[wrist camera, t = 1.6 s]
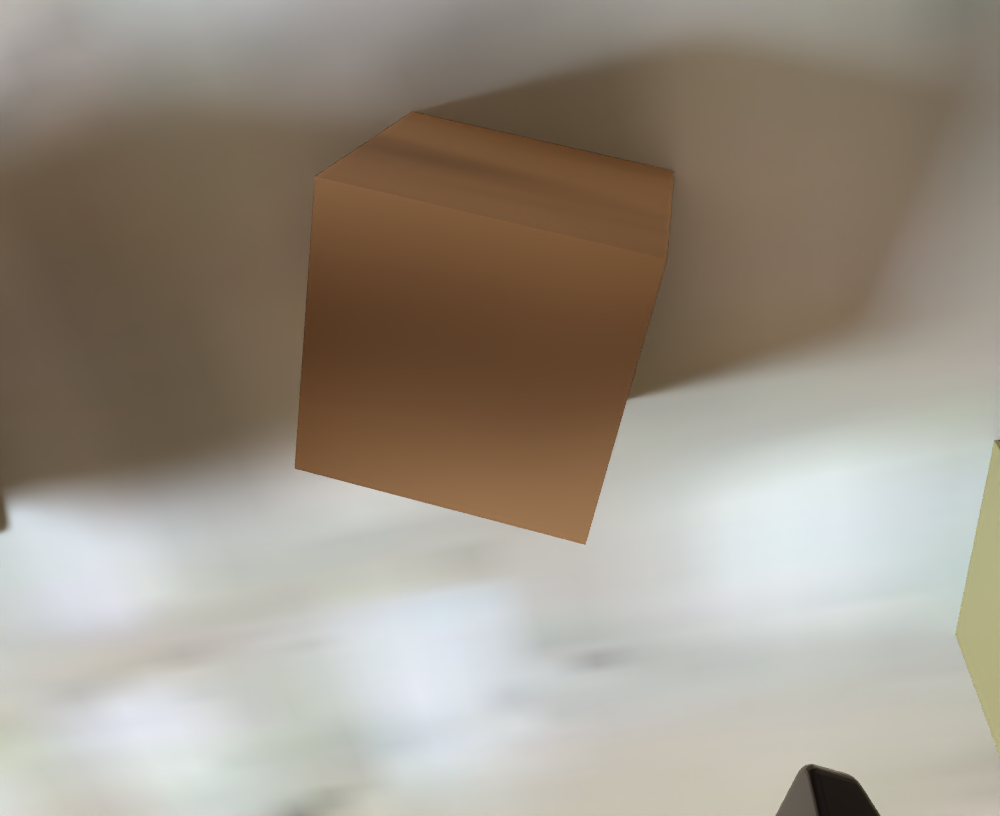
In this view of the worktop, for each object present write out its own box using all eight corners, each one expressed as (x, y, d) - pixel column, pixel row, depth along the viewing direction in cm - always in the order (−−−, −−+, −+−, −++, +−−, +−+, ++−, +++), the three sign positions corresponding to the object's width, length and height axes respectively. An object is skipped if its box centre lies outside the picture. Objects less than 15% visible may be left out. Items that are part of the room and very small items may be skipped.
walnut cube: (610, 402, 19) (585, 544, 14) (384, 345, 19) (294, 468, 15) (674, 169, 16) (667, 258, 12) (413, 111, 17) (314, 176, 12)
